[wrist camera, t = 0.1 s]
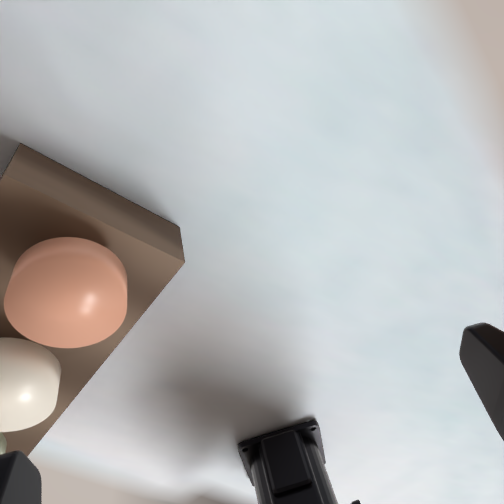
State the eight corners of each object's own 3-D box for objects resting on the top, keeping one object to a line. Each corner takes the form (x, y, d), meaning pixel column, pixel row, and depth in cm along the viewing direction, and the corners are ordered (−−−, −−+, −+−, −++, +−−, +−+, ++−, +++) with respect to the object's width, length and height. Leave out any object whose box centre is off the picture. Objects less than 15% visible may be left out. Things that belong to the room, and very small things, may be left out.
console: (20, 143, 19) (4, 174, 17) (179, 227, 23) (184, 262, 21) (-116, 386, 25) (-142, 434, 23) (29, 420, 29) (21, 464, 27)
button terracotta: (43, 218, 17) (36, 242, 16) (147, 265, 19) (148, 290, 18) (-7, 297, 19) (-17, 325, 17) (94, 333, 21) (92, 360, 20)
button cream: (-22, 324, 19) (-33, 353, 18) (78, 356, 21) (75, 384, 20) (-62, 388, 21) (-75, 418, 19) (35, 411, 23) (29, 440, 22)
